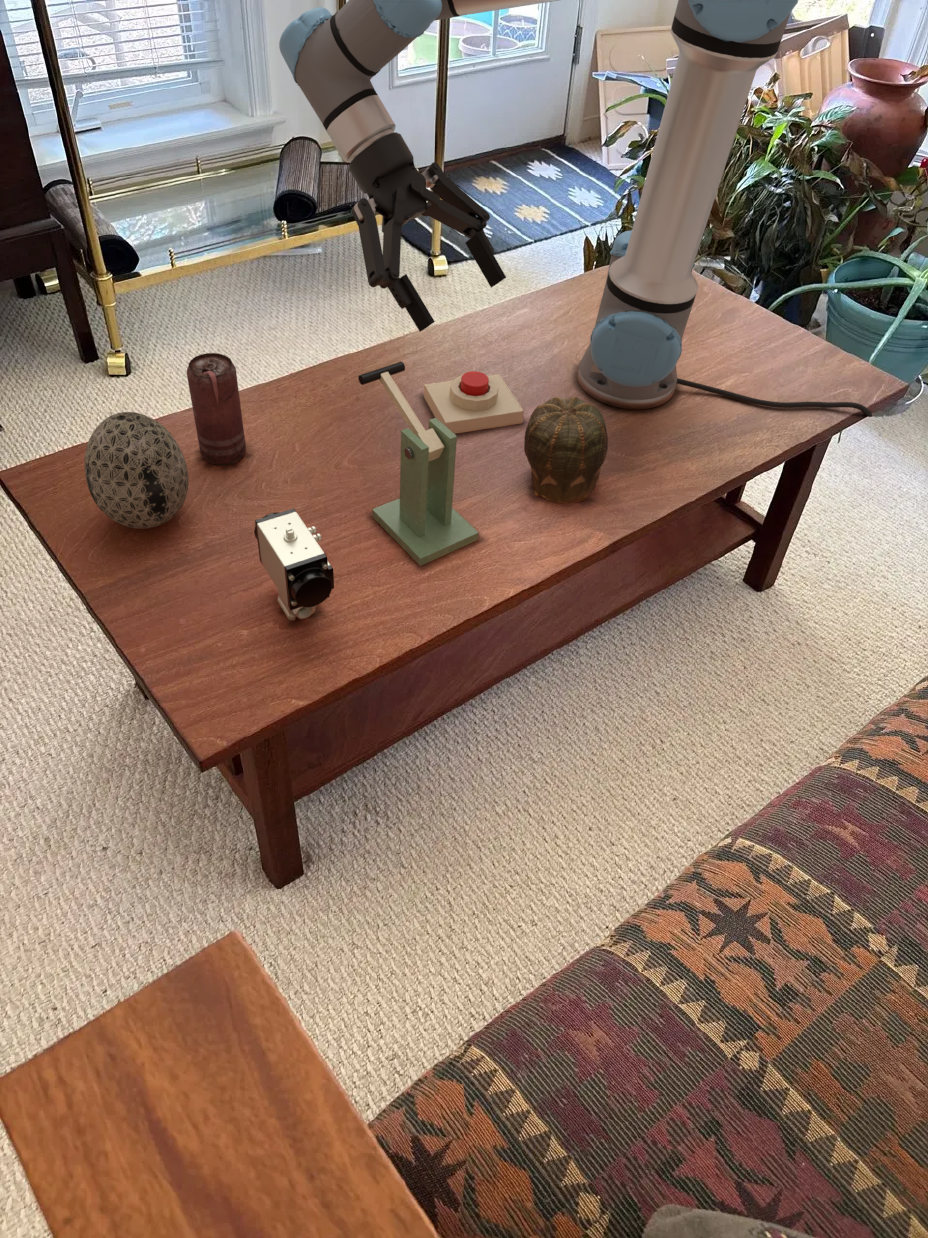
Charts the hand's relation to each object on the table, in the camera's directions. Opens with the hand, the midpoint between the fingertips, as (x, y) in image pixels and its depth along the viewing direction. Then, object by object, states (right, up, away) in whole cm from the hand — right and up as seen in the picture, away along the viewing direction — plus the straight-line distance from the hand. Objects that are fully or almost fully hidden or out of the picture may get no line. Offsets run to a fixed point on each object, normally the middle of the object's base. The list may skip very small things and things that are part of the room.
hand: (464, 304), depth 120 cm
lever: (-7, -16, -6) cm, 18 cm away
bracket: (-5, -28, +1) cm, 29 cm away
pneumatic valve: (-19, -39, -9) cm, 44 cm away
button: (+1, -7, +18) cm, 19 cm away
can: (-33, -18, +9) cm, 38 cm away
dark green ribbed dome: (+13, -21, +10) cm, 27 cm away
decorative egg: (-40, -27, -1) cm, 49 cm away
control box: (+1, -9, +20) cm, 22 cm away
